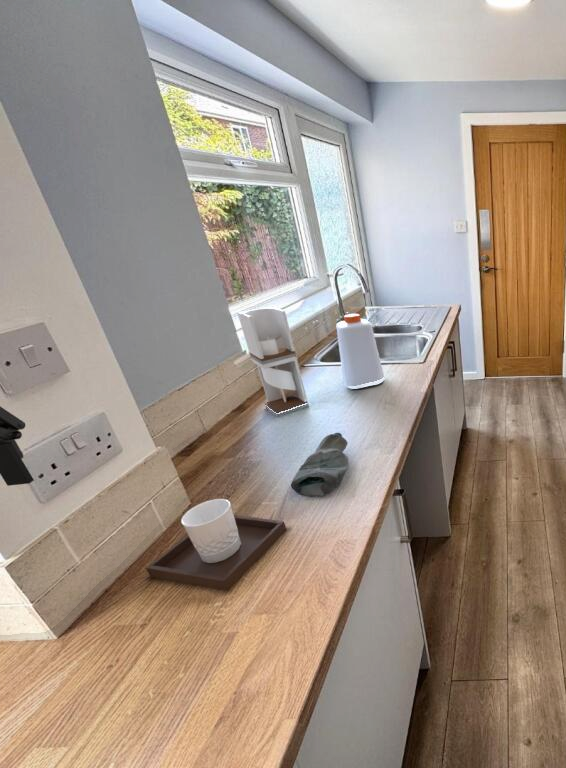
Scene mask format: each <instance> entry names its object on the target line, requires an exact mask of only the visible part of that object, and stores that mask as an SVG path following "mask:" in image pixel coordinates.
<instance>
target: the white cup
mask: <svg viewBox="0 0 566 768" xmlns="http://www.w3.org/2000/svg"><path fill="white" fill-rule="evenodd" d="M231 505H232V504H231V501H230V500H228V499H226V498H215V499H209V500H207V501H203V502H201V503H199V504H197V505H195V506H193V507H192V508H190V509H189V510H187V511H186V512H185V513H184V514H183V515H182V517H181V520H180V523H181V524H182V527H183V528H184V530H185V532H186V535H188V536H189V538H190V540H191V542H192V544H193V545H194V547H195V549H196V550H197V551H198V553H199V555H200V557H201V559H202V560H203V561H204V562H206V563H217V562H220V561H223V560H225V559H227V558H229V557H230V556H232V555H233V554H234V553H235V552H236V551H237V550H238V549H239V548H240V545H241V541H240V538H239V534H238V529H237V525H236V521H235V518H234V515H235V514H234V512H233V508H232V506H231Z"/></svg>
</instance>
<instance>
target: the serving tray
mask: <svg viewBox="0 0 566 768" xmlns="http://www.w3.org/2000/svg"><path fill="white" fill-rule="evenodd" d="M234 518H235V521H236V525H237V529H238V534H239V538H240V541H241V545H240V548H239V549H238V550H237V551H236V552H235V553H234V554H233V555H232V556H230V557H229V558H227V559H225V560H223V561H220V562H217V563H206V562H204V561H203V560H202V559H201V557H200V555H199V553H198V551H197V550H196V549H195V547H194V545H193V544H192V542H191V540H190V538H189V536H188V534H186V535H185V536H184V537H183V538H181V539H180V540H179V541H177V542H176V543H175V544H174V545H172V546H171V547H170V548H169V549H167V550H166V551H165V552H163V554H161V555H160V556H158V557H157V558H156V559H155V560H154V561H152V562H151V563H150V564H149V565H147V566H146V567H145V570H146V572H147V574H148V576H149V578H152V579H157V580H161V581H169V582H174V583H180V584H185V585H191V586H192V585H193V586H198V587H204V588H209V589H216V590H221V591H229V590H230V589H231V588H232V587H233V586H234V585H235V584H236V583H237V582H239V580H240V579H241V578H242V577H243V576H244V575H245V574H246V573H247V572H248V571H249V570H250V569H251V568H252V567H253V566H254V564H256V563H257V562H258V561H259V559H260V558H261V557H262V556H264V554H265V553H267V551H268V550H270V549H271V547H272V546H273V545H274V544H275V543H276V542H277V541H278V540H279V539H280V538H281V537H282V536H283V535H284V534H285V533H286V531H287V527H286V523H285V521H284V520H276V519H268V518H261V517H252V516H245V515H239V514H234Z"/></svg>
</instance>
